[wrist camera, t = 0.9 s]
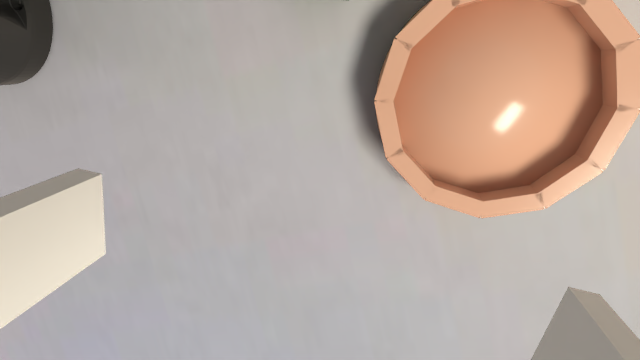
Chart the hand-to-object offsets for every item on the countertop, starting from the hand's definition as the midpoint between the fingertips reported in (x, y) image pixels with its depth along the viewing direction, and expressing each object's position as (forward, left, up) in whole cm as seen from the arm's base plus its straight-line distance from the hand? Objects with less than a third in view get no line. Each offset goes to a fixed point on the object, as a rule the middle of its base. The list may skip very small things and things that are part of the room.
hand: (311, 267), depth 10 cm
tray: (+6, +9, -25) cm, 27 cm away
